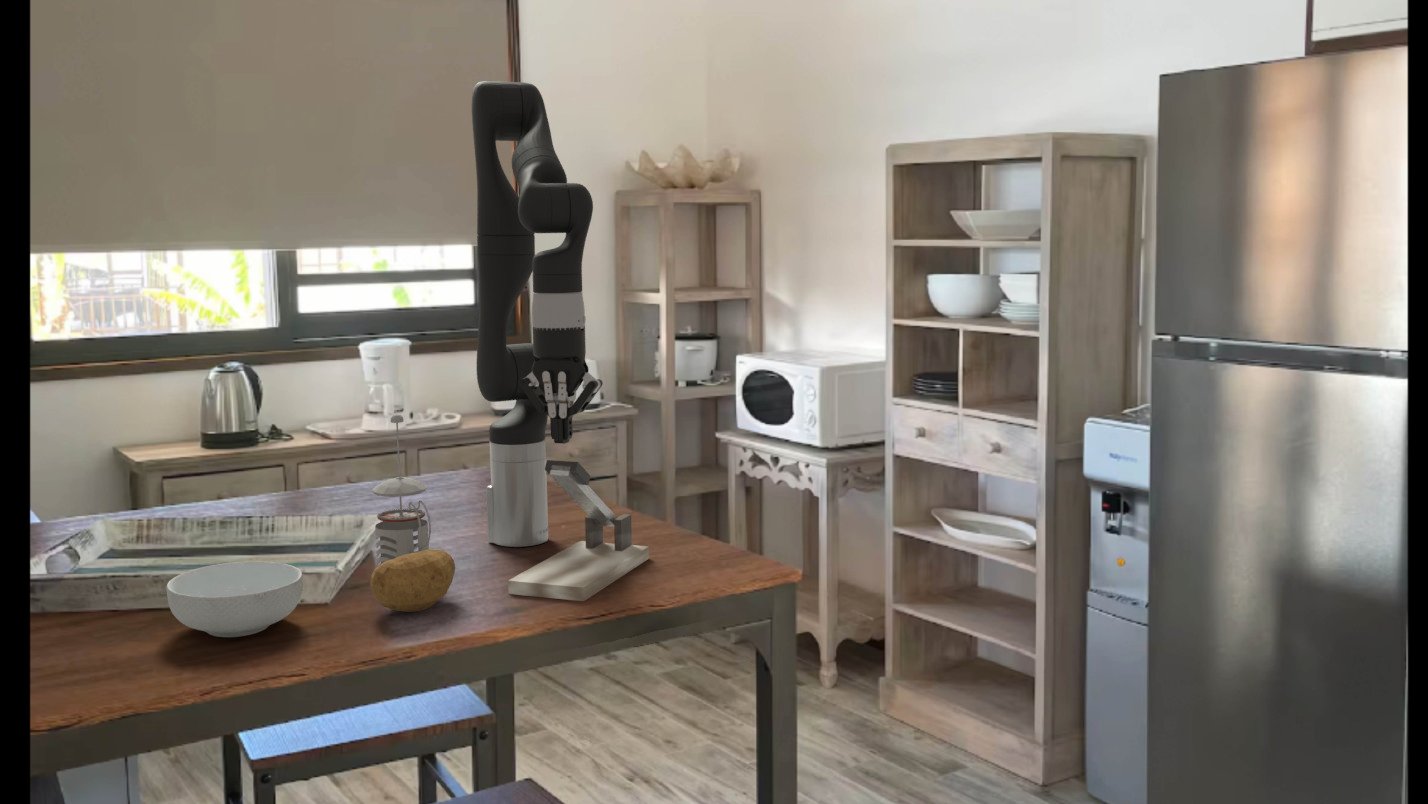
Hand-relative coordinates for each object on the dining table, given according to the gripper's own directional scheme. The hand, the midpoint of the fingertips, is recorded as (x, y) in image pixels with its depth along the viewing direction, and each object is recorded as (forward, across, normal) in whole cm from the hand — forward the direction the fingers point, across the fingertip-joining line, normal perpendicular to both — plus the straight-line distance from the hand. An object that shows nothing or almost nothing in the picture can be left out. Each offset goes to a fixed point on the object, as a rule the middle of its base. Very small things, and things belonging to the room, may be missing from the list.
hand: (562, 442), depth 187 cm
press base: (+21, 0, +6) cm, 22 cm away
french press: (+22, -25, -4) cm, 33 cm away
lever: (+10, 0, +7) cm, 13 cm away
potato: (+22, -15, -16) cm, 31 cm away
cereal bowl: (+22, -33, -32) cm, 51 cm away
